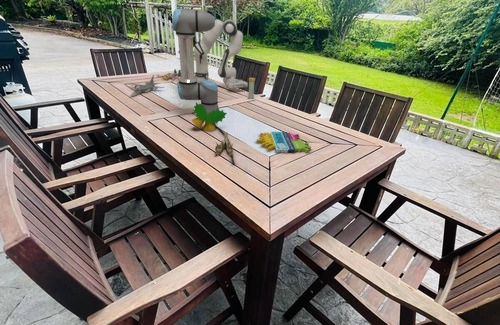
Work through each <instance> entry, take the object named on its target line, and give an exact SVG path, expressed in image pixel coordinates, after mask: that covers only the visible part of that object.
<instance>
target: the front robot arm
mask: <svg viewBox="0 0 500 325" xmlns="http://www.w3.org/2000/svg"><path fill="white" fill-rule="evenodd" d="M215 20H216V17H215V16H214V15H212V14H211V13H209V12H207V11H205V10H200V9H188V8H187V9H186V8H175V9H174V10H173V12H172V31H174V32H175V35H176V37H177V38H178V54H179V63H180V64H179V66H180V70H181V75H180V76H181V77H179V78H180V79H179V80H178V81H177V82H176V88H177V93H178V97H179V99H180V100H182V101H200V104H201V106H204V109H206V112H208V113H211V112H212V110H214V111H216V110H217V109H219V111H221V110H220V108H219V102H218V96H219V94H218V93H219V92H218V91H219V88H218V84H217V83H216V82H215V81H213V80H209V79H208V80H209V81H208V80H201V81H200V83H197V79H196V78H195V74H194V73H195V54H194V48H196V49H197V51H198V52H199V53H200V54H201V55H200V64H201V59H202V55H203V54H204V51H203V49H202V47H201V45H200V42H201V41H197V37H196V33H206V31H209V30H211V29H212V28H213V27H215ZM197 45H199V47H200V49H201V51H202V53H201V52H200V50H199V49H198V48H197V47H196V46H197ZM208 113H207V115H208ZM213 124H214V126H215V129H217V130H219V131H220V132H221V134H222V135H223V136H224V133H225V132H224V131H223V130H222V129H221V128H219V127H218V126H217V125H216V124H217V123H213ZM228 141H229V144H230V145H231V142H230V139H228ZM230 158H231V162H232V164H233V165H235V159H234V154H233V155H230Z"/></svg>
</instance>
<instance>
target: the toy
mask: <svg viewBox="0 0 500 325" xmlns="http://www.w3.org/2000/svg"><path fill="white" fill-rule="evenodd" d="M179 75H180V76H181V69H178V72H177V69H176V68H174V70H173V72H168V73H166V74H164V75H160V74H156V75H155V76H156V78H162V80H164V81H168V80H169V79H173V80H175V79H176V80H178V81H179V79H180V78H181V77H180V76H179ZM176 76H177V77H176Z"/></svg>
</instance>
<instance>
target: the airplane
mask: <svg viewBox="0 0 500 325" xmlns="http://www.w3.org/2000/svg"><path fill="white" fill-rule="evenodd" d="M154 76H155V75H154V74H152V77H151V78H150V80H149V81H144V83H145V84H137V83H130V85H131V86H133V89H135V90H134V91H133V92H132V93H131V94H130V97H135V96H137V95H139V94H141V93H148V92H150V91H151V90H153V91H157V90H158V88H159V89H162V88H163V89H165V86H156V85H161V82H160V83H159V82H158V83H157V82H155V81H154V78H155V77H154Z"/></svg>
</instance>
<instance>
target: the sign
mask: <svg viewBox="0 0 500 325" xmlns="http://www.w3.org/2000/svg"><path fill="white" fill-rule="evenodd" d="M299 136H300V135H299V134H298V133H296V134H294V133H291V132H287V131H270V132H264V133H263V132H260V133H259V139H258V138H257V139H256V143H257V144H261V148H263V147H264V148H265V149H267V151H268V152H271V151H272V150H273V149H275V152H276V153H283V154H285V153H287V154H288V153H290V154H293V153H296V152H298V153H301V152H305V153H310V151H311V150H312V149H311V148H312V146H309V142H304V141H303V139H302V138H299Z"/></svg>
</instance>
